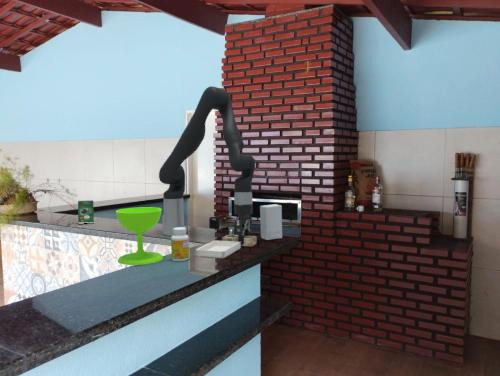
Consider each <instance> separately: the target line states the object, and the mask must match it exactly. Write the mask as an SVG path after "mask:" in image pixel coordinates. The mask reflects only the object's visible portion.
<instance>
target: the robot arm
mask: <svg viewBox="0 0 500 376" xmlns="http://www.w3.org/2000/svg"><path fill="white" fill-rule="evenodd" d="M232 104H233V103H232V101H231V97H230V94H229V92H228V91H227V90H226V89H225V88H224V89H223V88H220V87H217V86H212V85H211V86H208V87H206V89H204V91H203V92H202V95H201V97H200V98H199V101H198V103H197V105H196V108H195V111H193V114H192V116H191V118H190V120H189V122H188V123H187V125H186V127H185V128H184V130H183V132H182V134H181V135H180V137H179V139H178V141H177V142H176V145H175V146H174V148H173V150H172V151H171V153H170V155H169V156H168V157H167V159H166V160H165V161H164V163H163V164H162V165H161V167H160V169H159V172H158V179H159V181H160V182H161V183H162V184H165V185H169V187H168V188H167V190H165V191H164V192H163V197H162V198H163V214H161V217H162V235H163V234H164V235H163V236H168V237H169V236H171V237H172V236H173V235H174V233H173V228H177V227H185V216H184V215H185V211H184V209H185V208H184V205H185V204H184V194H185V192H186V190H185V189H186V173H185V169H184V167H183V165H182V164H183V163H184V162H185V160H187V159H188V158H189V157H190V156H191V155H193V154H194V153H195V152H196V151H197V150H198V149H199V148H200V145H201V144H202V142H203V140H204V139H205V136H206V121H207V119H208V117H209V115H210V114H211V112H212V110H216V111H218V113H219V114H220V117H221V118H222V137H223V140H224V143H225V145H226V148H227V152H228V160H229V166H230V169H232V170H233V171H234V172H236V173H240V172H241V174H240V176H239V177H237V178H235V179H234V196H233V199H234V201H233V202H234V204H233V206H234V207H233V208H234V209H233V210H234V215H236V216H237V220H234V224H235V229H234V231H235V235H238V242H241V245H243V244H244V236H250V232H251V230H252V229H253V228H252V221H253V217H252V215H253V211H254V210H253V192H252V190H253V188H252V187H253V186H252V181H253V178H254V173H255V169H256V161H255V158H254V156H253V155H251V154H247V153H245V154H242V153H241V151H242V150H243V149H244V148H245V143H244V139H243V138H242V135H241V132H240V130H239V128H238V125H237V122H236V121H237V120H236V119H235V114H234V110H233V105H232Z"/></svg>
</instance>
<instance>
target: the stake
mask: <svg viewBox="0 0 500 376" xmlns="http://www.w3.org/2000/svg"><path fill="white" fill-rule="evenodd" d="M228 235H229V237H234V235H235V227H234V226H228Z"/></svg>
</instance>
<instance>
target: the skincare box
mask: <svg viewBox="0 0 500 376" xmlns="http://www.w3.org/2000/svg"><path fill="white" fill-rule="evenodd" d="M282 209H283V207H282V205H281V204H277V203H275V204H267V205H266V204H264V205H260V206H259V217H260V221H259V222H260V238H261V239H263V240H266V241H268V240H269V241H271V240H275V239H276V240H277V239H283V216H282V215H283V214H282V213H283V211H282Z"/></svg>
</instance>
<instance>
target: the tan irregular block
mask: <svg viewBox="0 0 500 376" xmlns="http://www.w3.org/2000/svg"><path fill="white" fill-rule="evenodd" d="M257 238H258V237H257V235H249V236H244V244H243V245H241V247H253V246H255V245H257V244H258V241H257V240H258V239H257ZM221 241H234V242H238V235H236V234H234V237H229V234H226V235H225V236H222V238H221Z"/></svg>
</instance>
